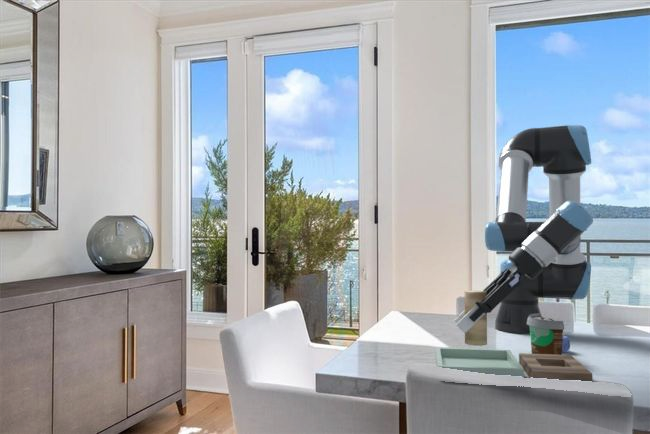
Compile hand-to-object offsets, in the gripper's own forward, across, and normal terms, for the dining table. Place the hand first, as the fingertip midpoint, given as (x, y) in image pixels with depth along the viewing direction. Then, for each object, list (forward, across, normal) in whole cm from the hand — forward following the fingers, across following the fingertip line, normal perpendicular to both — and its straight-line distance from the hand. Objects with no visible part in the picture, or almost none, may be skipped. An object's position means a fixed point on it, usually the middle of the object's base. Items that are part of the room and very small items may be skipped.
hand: (459, 326), depth 124 cm
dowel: (0, 0, -5) cm, 5 cm away
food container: (-8, +18, -23) cm, 30 cm away
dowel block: (-7, +1, -22) cm, 23 cm away
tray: (+5, +1, -10) cm, 11 cm away
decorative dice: (-12, +24, -27) cm, 38 cm away
